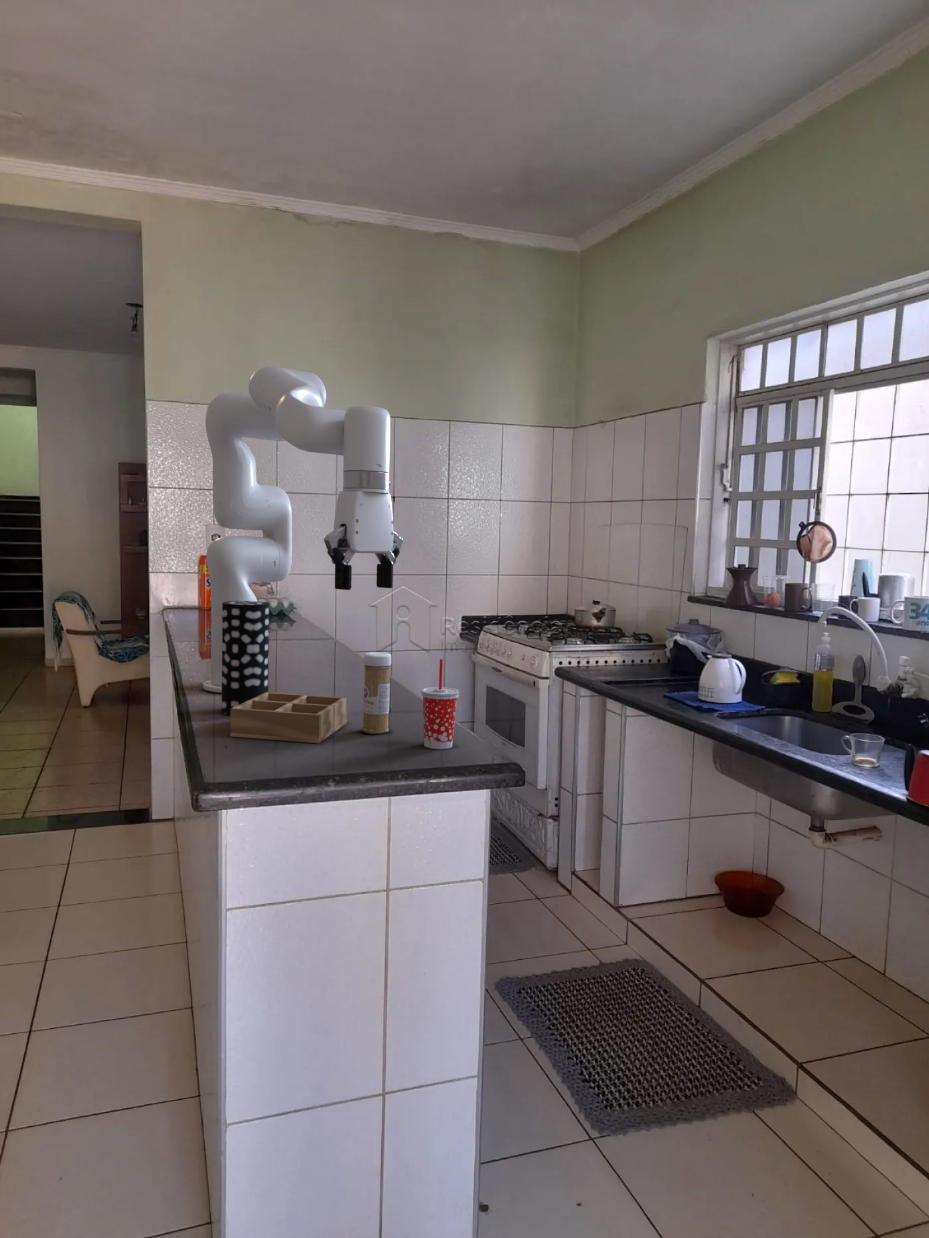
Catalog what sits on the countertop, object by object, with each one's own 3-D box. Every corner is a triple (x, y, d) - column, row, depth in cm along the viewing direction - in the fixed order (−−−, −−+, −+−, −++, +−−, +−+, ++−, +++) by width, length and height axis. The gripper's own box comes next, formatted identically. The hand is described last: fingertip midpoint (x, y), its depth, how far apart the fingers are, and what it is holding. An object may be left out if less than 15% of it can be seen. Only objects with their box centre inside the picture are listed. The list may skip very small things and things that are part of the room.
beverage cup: (453, 751, 136) (456, 663, 134) (415, 748, 137) (418, 660, 135) (460, 742, 142) (463, 657, 140) (423, 739, 143) (426, 655, 141)
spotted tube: (256, 717, 154) (257, 605, 152) (213, 714, 156) (213, 603, 154) (275, 708, 162) (276, 602, 160) (234, 705, 164) (235, 600, 162)
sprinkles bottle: (356, 730, 147) (358, 652, 146) (378, 727, 150) (380, 650, 149) (373, 736, 144) (375, 656, 142) (394, 732, 147) (396, 654, 145)
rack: (265, 717, 155) (266, 692, 154) (346, 723, 152) (347, 697, 152) (230, 736, 140) (230, 708, 139) (318, 743, 138) (319, 715, 137)
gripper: (385, 487, 150) (383, 585, 152) (310, 480, 137) (309, 588, 138) (418, 487, 146) (415, 588, 147) (344, 480, 132) (342, 591, 134)
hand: (364, 588), depth 143 cm, fingers open, 9 cm apart
